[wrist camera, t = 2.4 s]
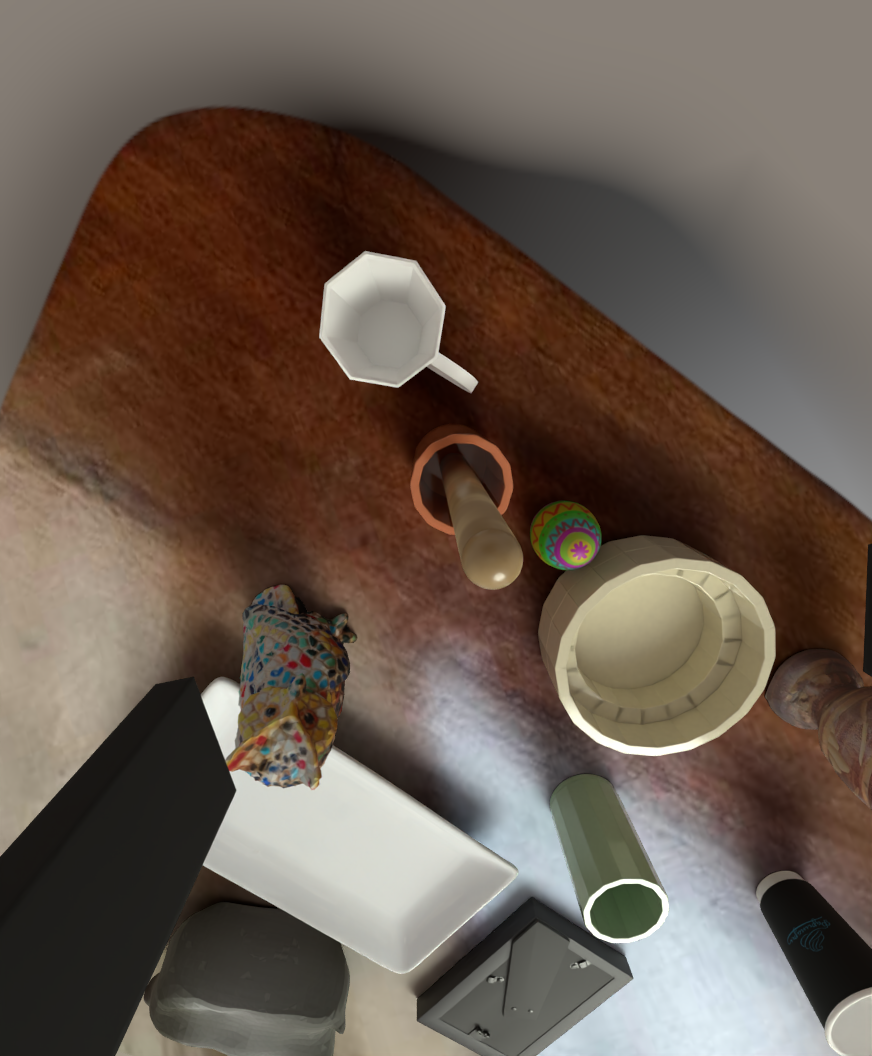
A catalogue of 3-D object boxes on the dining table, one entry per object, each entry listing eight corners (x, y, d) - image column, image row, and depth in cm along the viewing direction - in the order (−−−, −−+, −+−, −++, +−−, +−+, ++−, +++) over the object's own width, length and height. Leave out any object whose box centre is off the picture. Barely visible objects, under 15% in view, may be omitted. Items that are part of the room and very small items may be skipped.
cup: (372, 259, 33) (357, 219, 25) (496, 344, 35) (517, 331, 27) (321, 353, 35) (292, 343, 27) (442, 430, 36) (449, 442, 28)
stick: (464, 448, 36) (524, 532, 15) (468, 475, 37) (533, 592, 15) (437, 453, 36) (458, 544, 15) (442, 480, 37) (470, 604, 15)
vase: (613, 767, 45) (665, 871, 35) (619, 822, 46) (671, 935, 37) (545, 779, 45) (579, 886, 35) (554, 834, 47) (588, 950, 37)
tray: (404, 944, 50) (403, 984, 46) (126, 783, 44) (102, 816, 40) (517, 839, 47) (525, 873, 43) (235, 649, 41) (218, 673, 37)
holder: (484, 415, 36) (503, 423, 27) (497, 494, 38) (519, 525, 29) (406, 431, 36) (401, 444, 28) (422, 509, 38) (422, 544, 29)
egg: (599, 513, 38) (631, 535, 32) (566, 566, 39) (591, 596, 34) (545, 484, 38) (567, 501, 32) (513, 539, 39) (529, 565, 33)
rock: (157, 970, 50) (110, 1074, 42) (176, 886, 47) (129, 982, 39) (336, 1001, 52) (322, 1106, 44) (364, 922, 49) (355, 1020, 41)
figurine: (341, 566, 39) (294, 671, 24) (375, 664, 41) (350, 812, 27) (238, 594, 39) (131, 713, 25) (277, 689, 42) (200, 849, 27)
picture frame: (531, 896, 48) (416, 998, 52) (536, 920, 46) (416, 1025, 50) (626, 957, 51) (510, 1050, 54) (635, 982, 49) (514, 1077, 52)
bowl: (721, 516, 39) (774, 538, 33) (728, 687, 43) (776, 734, 37) (524, 554, 39) (542, 583, 33) (550, 721, 43) (570, 772, 37)
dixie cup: (761, 851, 48) (857, 982, 37) (834, 866, 49) (949, 999, 38) (727, 911, 50) (809, 1053, 39) (797, 925, 51) (897, 1067, 40)
